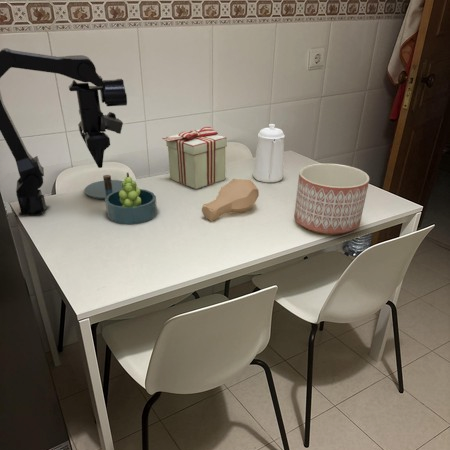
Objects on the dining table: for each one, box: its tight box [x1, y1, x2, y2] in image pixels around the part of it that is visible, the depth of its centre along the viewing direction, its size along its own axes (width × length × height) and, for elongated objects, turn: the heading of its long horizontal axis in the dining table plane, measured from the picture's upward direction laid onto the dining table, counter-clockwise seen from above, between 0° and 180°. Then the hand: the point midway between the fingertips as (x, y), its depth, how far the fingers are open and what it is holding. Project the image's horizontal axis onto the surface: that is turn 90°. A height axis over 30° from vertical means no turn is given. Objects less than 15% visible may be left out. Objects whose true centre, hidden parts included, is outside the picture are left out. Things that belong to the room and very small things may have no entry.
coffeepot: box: [252, 123, 286, 183], centre depth 157 cm, size 11×25×19 cm, turn 179°
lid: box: [84, 174, 124, 200], centre depth 148 cm, size 16×16×5 cm
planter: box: [293, 162, 370, 236], centre depth 129 cm, size 19×19×15 cm
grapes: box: [119, 172, 141, 207], centre depth 132 cm, size 7×7×12 cm
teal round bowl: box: [104, 188, 158, 225], centre depth 134 cm, size 15×15×5 cm
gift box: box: [162, 126, 228, 190], centre depth 156 cm, size 17×18×17 cm
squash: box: [201, 178, 260, 222], centre depth 136 cm, size 11×20×9 cm, turn 135°
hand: (97, 162), depth 134 cm, fingers open, 9 cm apart
